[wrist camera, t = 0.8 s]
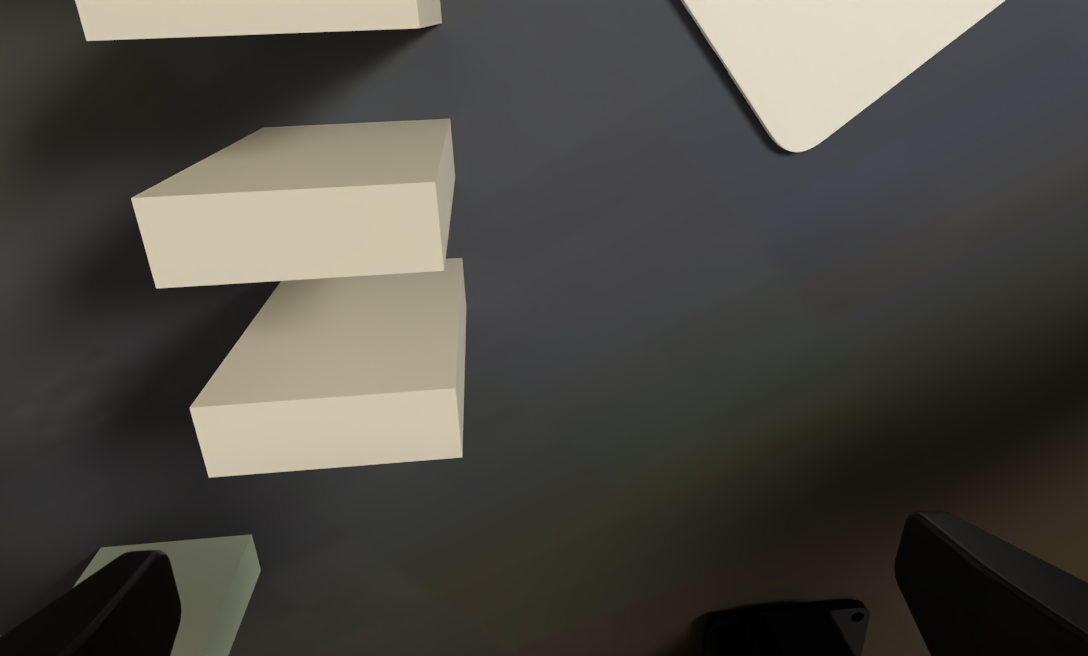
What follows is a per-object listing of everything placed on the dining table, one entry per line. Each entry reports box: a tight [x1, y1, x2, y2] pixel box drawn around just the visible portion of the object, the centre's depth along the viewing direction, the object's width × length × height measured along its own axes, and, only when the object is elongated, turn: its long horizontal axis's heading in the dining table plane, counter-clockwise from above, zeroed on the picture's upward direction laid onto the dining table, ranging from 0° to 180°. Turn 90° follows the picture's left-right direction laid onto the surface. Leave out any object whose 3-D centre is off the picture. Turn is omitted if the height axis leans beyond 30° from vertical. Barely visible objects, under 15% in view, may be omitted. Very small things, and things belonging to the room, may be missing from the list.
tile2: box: [190, 258, 466, 478], centre depth 17 cm, size 2×5×8 cm, turn 92°
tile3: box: [131, 119, 455, 289], centre depth 16 cm, size 2×5×8 cm, turn 92°
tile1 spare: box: [74, 534, 261, 656], centre depth 21 cm, size 2×5×8 cm, turn 92°
